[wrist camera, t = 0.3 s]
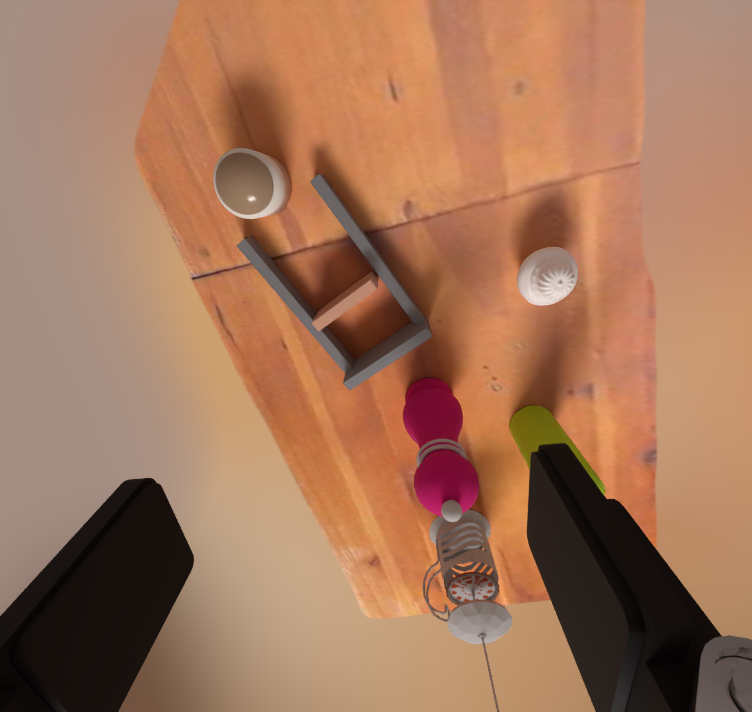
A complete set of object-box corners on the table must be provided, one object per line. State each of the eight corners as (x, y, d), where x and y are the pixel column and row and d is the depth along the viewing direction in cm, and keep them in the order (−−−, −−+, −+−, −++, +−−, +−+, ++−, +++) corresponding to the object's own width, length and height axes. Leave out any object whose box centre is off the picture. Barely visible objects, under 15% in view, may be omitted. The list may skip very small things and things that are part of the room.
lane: (244, 242, 42) (227, 248, 37) (323, 174, 39) (314, 172, 34) (353, 371, 48) (349, 390, 43) (428, 321, 45) (432, 336, 40)
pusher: (319, 309, 45) (311, 323, 40) (372, 270, 43) (370, 279, 38) (325, 317, 45) (318, 331, 40) (378, 278, 43) (377, 289, 38)
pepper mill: (390, 397, 49) (392, 517, 31) (431, 363, 47) (459, 471, 29) (426, 429, 51) (448, 561, 33) (467, 398, 49) (514, 520, 31)
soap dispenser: (517, 452, 52) (587, 591, 34) (504, 414, 50) (571, 541, 32) (559, 439, 51) (654, 575, 33) (547, 399, 49) (643, 522, 31)
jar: (223, 179, 39) (197, 177, 34) (264, 140, 38) (244, 131, 32) (262, 227, 41) (243, 232, 36) (303, 192, 40) (289, 192, 34)
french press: (497, 545, 60) (565, 762, 37) (428, 561, 62) (452, 776, 39) (482, 502, 56) (547, 713, 34) (410, 520, 58) (425, 731, 35)
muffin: (521, 235, 41) (546, 243, 34) (572, 250, 41) (606, 261, 35) (499, 289, 43) (518, 306, 37) (547, 302, 44) (575, 321, 37)
